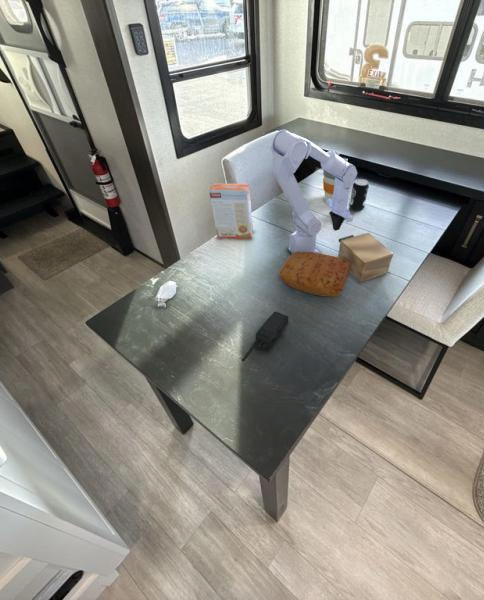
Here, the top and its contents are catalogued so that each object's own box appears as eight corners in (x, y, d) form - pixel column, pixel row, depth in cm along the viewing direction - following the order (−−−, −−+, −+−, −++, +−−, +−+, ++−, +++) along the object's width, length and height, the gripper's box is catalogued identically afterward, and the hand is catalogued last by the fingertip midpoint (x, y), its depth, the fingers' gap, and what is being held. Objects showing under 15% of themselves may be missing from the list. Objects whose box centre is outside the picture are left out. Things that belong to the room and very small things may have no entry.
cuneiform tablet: (352, 276, 109) (356, 258, 103) (336, 309, 99) (339, 291, 93) (294, 259, 116) (295, 242, 110) (273, 288, 106) (273, 270, 100)
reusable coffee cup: (316, 195, 150) (319, 163, 139) (340, 190, 152) (344, 159, 141) (327, 208, 141) (331, 175, 131) (352, 203, 144) (358, 170, 133)
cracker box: (253, 231, 130) (249, 182, 115) (251, 239, 126) (246, 190, 111) (220, 230, 131) (212, 182, 116) (217, 238, 127) (208, 189, 112)
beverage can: (360, 212, 138) (365, 186, 129) (346, 208, 141) (350, 182, 132) (366, 206, 141) (372, 180, 133) (353, 202, 144) (358, 177, 136)
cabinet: (338, 260, 116) (341, 240, 109) (364, 251, 119) (368, 232, 112) (359, 282, 107) (364, 263, 101) (387, 272, 110) (393, 253, 104)
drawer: (332, 249, 118) (334, 234, 114) (355, 242, 121) (358, 227, 116) (357, 276, 108) (361, 260, 103) (382, 267, 111) (387, 252, 106)
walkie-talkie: (294, 321, 93) (261, 370, 79) (281, 326, 97) (247, 373, 84) (282, 305, 91) (246, 352, 78) (269, 311, 96) (232, 357, 82)
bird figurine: (174, 309, 102) (180, 283, 107) (164, 299, 96) (170, 272, 101) (161, 310, 103) (167, 285, 108) (149, 300, 97) (156, 274, 102)
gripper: (362, 203, 108) (355, 236, 117) (339, 185, 117) (335, 217, 127) (345, 208, 106) (339, 241, 116) (323, 189, 115) (320, 222, 125)
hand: (336, 229), depth 121 cm, fingers closed
